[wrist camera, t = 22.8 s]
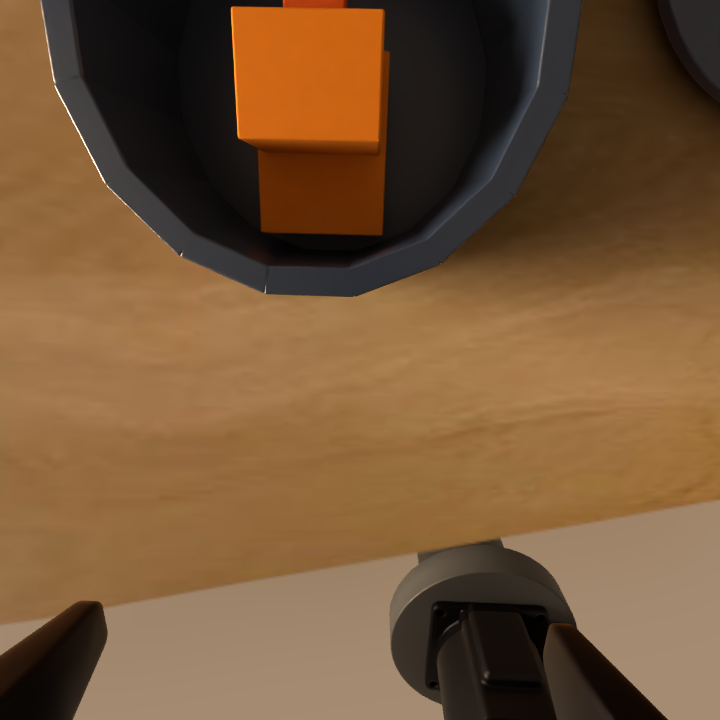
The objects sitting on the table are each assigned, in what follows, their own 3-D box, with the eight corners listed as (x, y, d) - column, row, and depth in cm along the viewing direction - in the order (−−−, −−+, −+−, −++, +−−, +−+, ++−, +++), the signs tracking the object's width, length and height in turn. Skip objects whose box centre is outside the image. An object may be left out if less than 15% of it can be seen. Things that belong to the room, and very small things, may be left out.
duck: (381, 232, 18) (384, 241, 12) (280, 229, 18) (235, 237, 12) (388, 45, 16) (396, -52, 10) (275, 43, 16) (217, -54, 10)
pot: (483, 273, 18) (537, 303, 12) (181, 263, 19) (85, 288, 13) (527, -119, 14) (640, -365, 8) (143, -124, 15) (-22, -365, 9)
